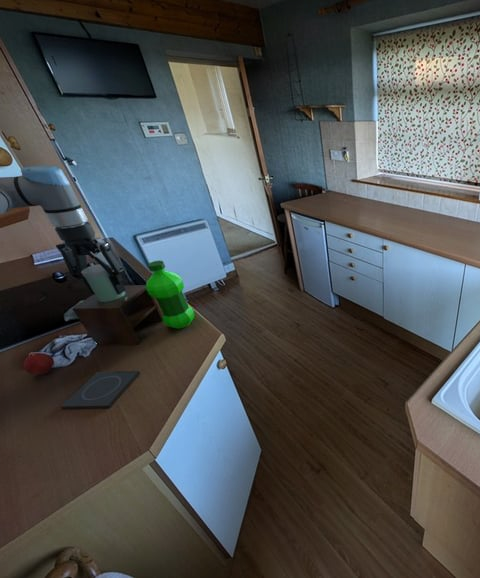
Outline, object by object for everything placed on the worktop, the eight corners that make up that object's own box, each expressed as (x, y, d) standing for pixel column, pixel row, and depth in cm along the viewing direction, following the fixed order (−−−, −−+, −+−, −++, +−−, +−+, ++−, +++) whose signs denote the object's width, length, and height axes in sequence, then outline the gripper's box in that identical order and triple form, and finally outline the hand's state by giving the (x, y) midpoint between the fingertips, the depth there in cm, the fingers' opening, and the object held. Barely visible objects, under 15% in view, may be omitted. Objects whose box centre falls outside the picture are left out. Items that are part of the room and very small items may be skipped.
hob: (62, 409, 77) (60, 406, 76) (98, 374, 87) (97, 371, 87) (109, 407, 77) (107, 405, 77) (140, 373, 88) (138, 370, 87)
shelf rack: (96, 345, 98) (71, 308, 90) (126, 319, 110) (106, 285, 102) (138, 344, 98) (118, 307, 91) (164, 319, 110) (148, 285, 102)
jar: (91, 302, 93) (74, 274, 88) (109, 290, 99) (94, 263, 94) (115, 302, 93) (99, 274, 88) (131, 290, 100) (117, 263, 94)
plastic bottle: (159, 333, 103) (128, 270, 90) (176, 315, 112) (150, 256, 99) (188, 333, 103) (161, 270, 91) (203, 315, 112) (180, 256, 100)
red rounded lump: (27, 377, 86) (9, 357, 82) (51, 363, 90) (36, 344, 86) (40, 382, 84) (23, 362, 80) (64, 368, 89) (49, 348, 85)
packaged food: (111, 304, 118) (105, 294, 116) (93, 322, 108) (85, 311, 106) (87, 306, 117) (80, 296, 114) (65, 325, 107) (58, 314, 104)
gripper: (118, 220, 87) (148, 286, 99) (47, 220, 86) (86, 286, 98) (97, 228, 81) (133, 298, 93) (21, 228, 80) (67, 298, 92)
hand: (109, 292), depth 95 cm, fingers open, 7 cm apart
